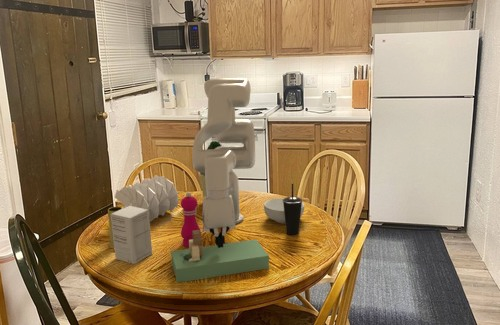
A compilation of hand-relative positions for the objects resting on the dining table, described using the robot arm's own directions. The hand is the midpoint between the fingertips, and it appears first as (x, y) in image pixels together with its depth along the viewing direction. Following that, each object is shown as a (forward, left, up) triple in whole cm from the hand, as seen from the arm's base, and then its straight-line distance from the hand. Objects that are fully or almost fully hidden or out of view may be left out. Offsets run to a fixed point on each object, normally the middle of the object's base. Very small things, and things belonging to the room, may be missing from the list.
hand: (220, 246), depth 154 cm
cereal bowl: (-33, +35, -7) cm, 48 cm away
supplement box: (-17, -27, -7) cm, 33 cm away
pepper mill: (-21, -6, -7) cm, 23 cm away
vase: (-29, -32, -7) cm, 44 cm away
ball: (0, -9, -5) cm, 10 cm away
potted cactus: (-65, +13, -7) cm, 67 cm away
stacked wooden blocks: (0, -8, -2) cm, 8 cm away
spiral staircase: (-54, -18, -7) cm, 57 cm away
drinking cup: (-18, +33, -7) cm, 38 cm away
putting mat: (0, 0, -7) cm, 7 cm away
